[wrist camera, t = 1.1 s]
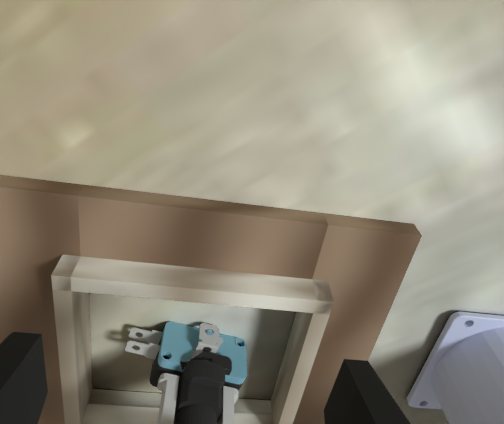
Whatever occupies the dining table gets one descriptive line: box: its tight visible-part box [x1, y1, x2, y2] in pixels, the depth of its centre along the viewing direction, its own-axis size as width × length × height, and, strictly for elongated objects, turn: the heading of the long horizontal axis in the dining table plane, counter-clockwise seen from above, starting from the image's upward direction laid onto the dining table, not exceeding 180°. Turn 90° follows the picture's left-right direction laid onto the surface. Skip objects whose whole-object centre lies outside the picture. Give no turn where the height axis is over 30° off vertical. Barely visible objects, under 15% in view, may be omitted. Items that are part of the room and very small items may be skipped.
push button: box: [125, 322, 247, 424], centre depth 20 cm, size 7×5×10 cm
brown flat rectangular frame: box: [0, 175, 422, 424], centre depth 23 cm, size 20×18×3 cm
